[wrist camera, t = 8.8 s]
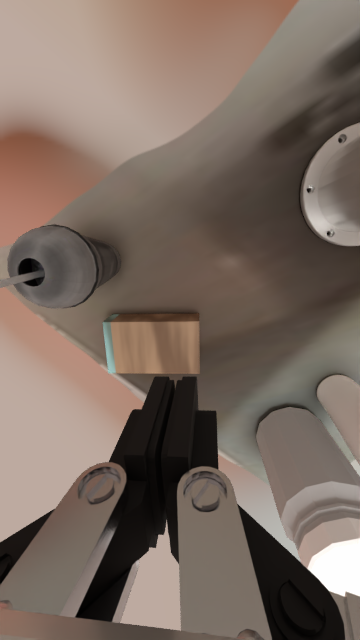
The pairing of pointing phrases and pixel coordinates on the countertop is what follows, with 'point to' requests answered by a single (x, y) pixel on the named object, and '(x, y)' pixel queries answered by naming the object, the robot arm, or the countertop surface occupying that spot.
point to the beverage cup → (59, 266)
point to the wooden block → (152, 343)
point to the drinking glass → (343, 408)
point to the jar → (314, 495)
